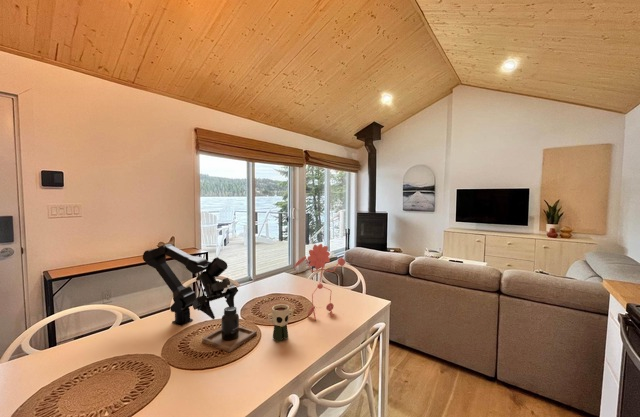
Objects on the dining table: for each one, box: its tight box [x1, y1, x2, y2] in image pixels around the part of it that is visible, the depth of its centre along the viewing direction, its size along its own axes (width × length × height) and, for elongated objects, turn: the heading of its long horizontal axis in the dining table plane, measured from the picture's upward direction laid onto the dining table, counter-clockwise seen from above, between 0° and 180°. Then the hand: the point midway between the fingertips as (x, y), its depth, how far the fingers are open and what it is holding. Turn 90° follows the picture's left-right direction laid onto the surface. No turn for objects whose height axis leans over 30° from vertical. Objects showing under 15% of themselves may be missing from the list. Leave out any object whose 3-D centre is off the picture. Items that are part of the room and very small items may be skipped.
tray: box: [201, 325, 257, 353], centre depth 114 cm, size 15×15×2 cm
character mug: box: [267, 304, 294, 342], centre depth 114 cm, size 11×7×13 cm, turn 118°
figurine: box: [294, 243, 346, 321], centre depth 139 cm, size 15×26×35 cm, turn 116°
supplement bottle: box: [220, 305, 240, 341], centre depth 114 cm, size 7×7×12 cm
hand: (224, 315), depth 116 cm, fingers open, 9 cm apart
